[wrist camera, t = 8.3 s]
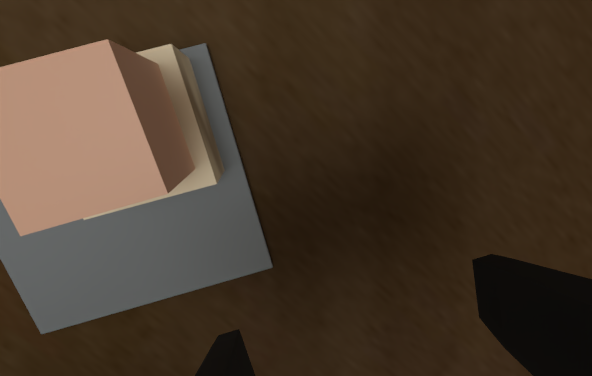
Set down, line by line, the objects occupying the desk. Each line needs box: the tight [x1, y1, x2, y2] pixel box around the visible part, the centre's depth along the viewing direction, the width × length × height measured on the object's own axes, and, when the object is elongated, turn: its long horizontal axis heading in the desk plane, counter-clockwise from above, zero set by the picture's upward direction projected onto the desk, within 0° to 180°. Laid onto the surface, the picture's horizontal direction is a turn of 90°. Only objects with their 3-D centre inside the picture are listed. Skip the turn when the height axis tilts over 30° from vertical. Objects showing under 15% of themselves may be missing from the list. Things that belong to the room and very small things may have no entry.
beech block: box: [83, 44, 225, 220], centre depth 15 cm, size 6×6×4 cm
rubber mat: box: [0, 43, 273, 334], centre depth 18 cm, size 13×14×1 cm
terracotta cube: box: [0, 39, 195, 236], centre depth 11 cm, size 4×4×4 cm
